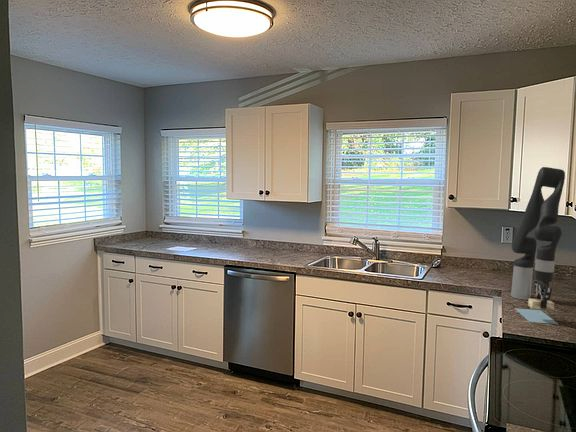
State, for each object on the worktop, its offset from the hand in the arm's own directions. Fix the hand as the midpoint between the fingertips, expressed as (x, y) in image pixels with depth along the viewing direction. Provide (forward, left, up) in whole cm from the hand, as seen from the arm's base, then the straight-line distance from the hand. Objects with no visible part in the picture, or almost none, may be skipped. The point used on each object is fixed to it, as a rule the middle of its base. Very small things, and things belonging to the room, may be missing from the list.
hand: (540, 306), depth 199 cm
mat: (-5, 0, -6) cm, 8 cm away
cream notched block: (0, 0, 0) cm, 0 cm away
